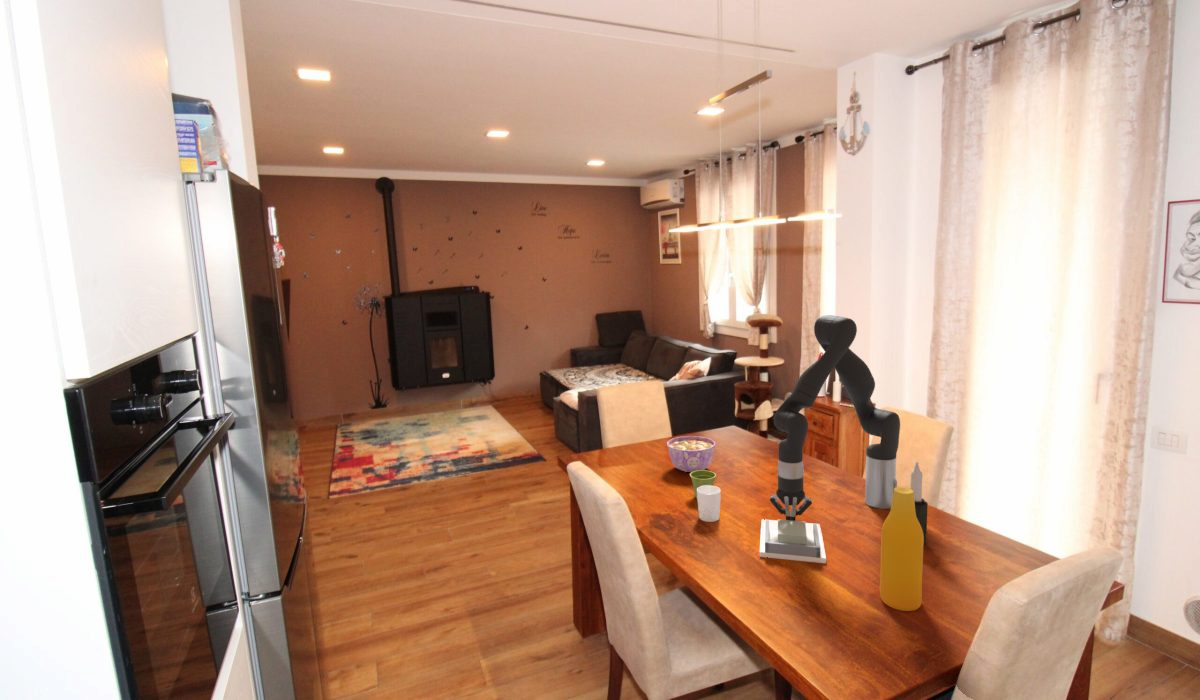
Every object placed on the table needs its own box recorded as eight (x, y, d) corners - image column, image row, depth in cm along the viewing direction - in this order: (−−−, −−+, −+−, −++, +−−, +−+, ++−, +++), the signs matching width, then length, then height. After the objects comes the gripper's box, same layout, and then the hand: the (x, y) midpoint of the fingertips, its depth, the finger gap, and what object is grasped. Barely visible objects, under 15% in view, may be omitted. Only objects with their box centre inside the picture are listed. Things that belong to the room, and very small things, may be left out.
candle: (917, 548, 166) (919, 466, 162) (900, 540, 170) (903, 461, 166) (927, 543, 168) (930, 462, 164) (911, 536, 172) (914, 457, 169)
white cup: (694, 513, 195) (694, 486, 194) (717, 511, 196) (716, 484, 194) (700, 523, 188) (700, 495, 186) (724, 521, 188) (723, 493, 187)
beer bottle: (903, 616, 135) (907, 501, 131) (871, 596, 143) (873, 487, 139) (930, 605, 138) (934, 492, 134) (897, 587, 147) (900, 480, 143)
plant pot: (690, 491, 214) (689, 469, 213) (715, 491, 213) (714, 469, 212) (690, 502, 205) (690, 479, 204) (717, 502, 204) (716, 479, 202)
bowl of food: (695, 482, 223) (694, 454, 221) (657, 470, 238) (656, 444, 236) (725, 468, 236) (725, 442, 234) (688, 458, 251) (687, 433, 249)
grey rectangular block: (805, 532, 175) (805, 521, 175) (806, 547, 166) (806, 536, 165) (777, 529, 178) (777, 519, 177) (777, 545, 168) (777, 533, 168)
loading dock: (819, 526, 184) (819, 510, 183) (825, 566, 160) (826, 548, 159) (761, 522, 189) (761, 506, 188) (759, 559, 165) (759, 542, 164)
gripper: (812, 470, 176) (812, 522, 179) (768, 468, 180) (768, 519, 183) (814, 479, 169) (813, 533, 172) (768, 476, 173) (768, 529, 176)
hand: (790, 526), depth 177 cm, fingers closed
